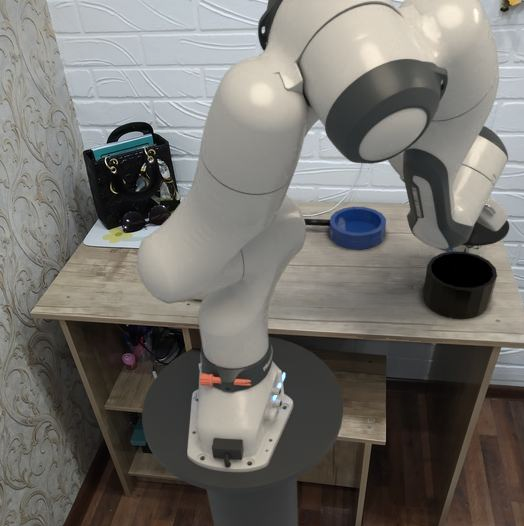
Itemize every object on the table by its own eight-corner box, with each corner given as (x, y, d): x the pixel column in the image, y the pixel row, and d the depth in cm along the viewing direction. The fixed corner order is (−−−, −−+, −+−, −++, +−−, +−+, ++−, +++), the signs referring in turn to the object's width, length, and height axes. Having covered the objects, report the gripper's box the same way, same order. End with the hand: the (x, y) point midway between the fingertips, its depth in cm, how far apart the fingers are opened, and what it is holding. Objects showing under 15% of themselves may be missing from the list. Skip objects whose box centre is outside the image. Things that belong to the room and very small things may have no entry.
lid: (513, 250, 105) (521, 224, 101) (428, 246, 107) (433, 220, 103) (502, 208, 115) (509, 183, 112) (425, 205, 118) (429, 180, 114)
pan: (384, 250, 137) (385, 236, 134) (327, 248, 139) (327, 234, 136) (384, 221, 147) (386, 207, 144) (331, 219, 149) (332, 205, 146)
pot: (492, 321, 116) (500, 291, 111) (423, 316, 118) (428, 287, 113) (484, 281, 126) (492, 253, 121) (421, 278, 128) (426, 249, 123)
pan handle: (332, 227, 142) (333, 221, 141) (290, 225, 143) (290, 220, 142) (333, 224, 143) (333, 218, 142) (291, 222, 144) (291, 216, 143)
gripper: (501, 188, 92) (526, 222, 102) (414, 145, 105) (444, 179, 115) (475, 220, 94) (503, 251, 104) (392, 174, 107) (424, 205, 117)
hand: (471, 213), depth 110 cm, fingers closed on lid, 2 cm apart
